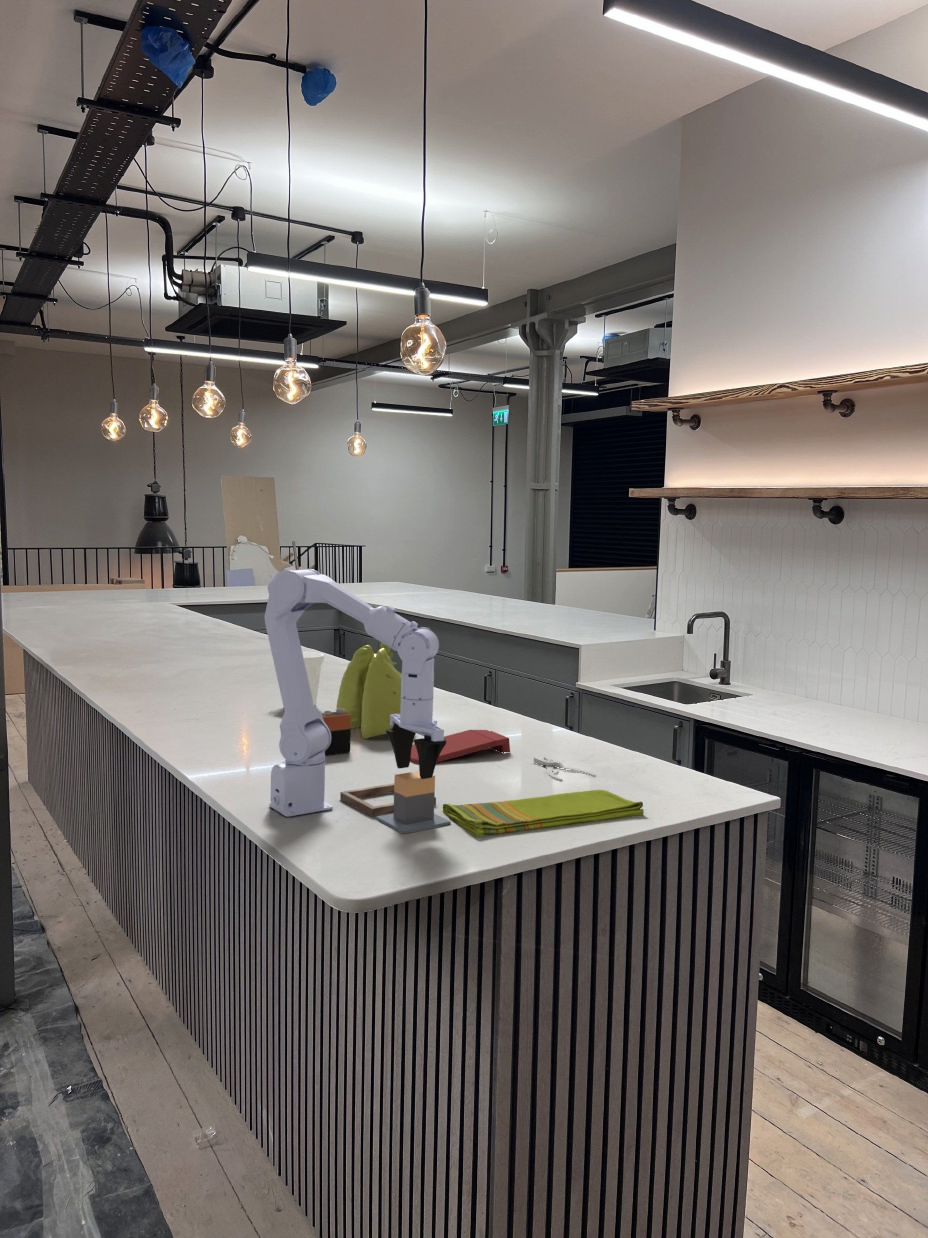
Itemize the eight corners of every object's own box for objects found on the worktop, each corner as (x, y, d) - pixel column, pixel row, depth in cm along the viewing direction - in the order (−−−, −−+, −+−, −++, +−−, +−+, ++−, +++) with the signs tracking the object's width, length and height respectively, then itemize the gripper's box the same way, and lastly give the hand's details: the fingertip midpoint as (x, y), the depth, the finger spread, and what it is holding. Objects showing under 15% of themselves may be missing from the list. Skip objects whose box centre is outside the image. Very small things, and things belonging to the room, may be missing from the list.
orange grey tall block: (405, 825, 155) (406, 780, 154) (393, 818, 158) (394, 774, 158) (433, 819, 159) (435, 775, 158) (421, 813, 162) (422, 770, 161)
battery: (351, 752, 206) (352, 710, 205) (324, 756, 202) (325, 713, 201) (342, 748, 210) (342, 707, 209) (316, 752, 206) (316, 709, 205)
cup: (315, 712, 251) (316, 658, 249) (273, 709, 252) (273, 655, 251) (328, 703, 263) (329, 652, 261) (288, 701, 265) (289, 650, 263)
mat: (403, 833, 152) (403, 831, 152) (376, 819, 159) (376, 816, 159) (450, 824, 158) (450, 821, 158) (422, 810, 165) (422, 808, 165)
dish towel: (439, 814, 165) (439, 797, 165) (599, 795, 181) (600, 780, 180) (475, 841, 151) (476, 822, 151) (645, 818, 167) (646, 802, 167)
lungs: (424, 737, 225) (427, 642, 222) (369, 743, 216) (372, 645, 214) (379, 718, 246) (381, 631, 243) (327, 723, 237) (329, 633, 235)
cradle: (372, 817, 160) (372, 808, 160) (340, 799, 170) (340, 792, 170) (435, 805, 169) (436, 797, 169) (402, 789, 178) (402, 782, 178)
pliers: (559, 775, 188) (521, 759, 201) (559, 783, 188) (521, 765, 201) (597, 771, 193) (557, 755, 206) (596, 778, 193) (557, 761, 206)
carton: (420, 782, 198) (514, 755, 209) (418, 761, 197) (513, 735, 209) (397, 769, 208) (488, 744, 220) (395, 749, 207) (486, 725, 219)
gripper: (459, 702, 153) (456, 779, 154) (413, 688, 165) (411, 760, 166) (425, 706, 149) (422, 785, 150) (380, 691, 160) (378, 765, 162)
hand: (414, 772), depth 158 cm, fingers open, 7 cm apart
